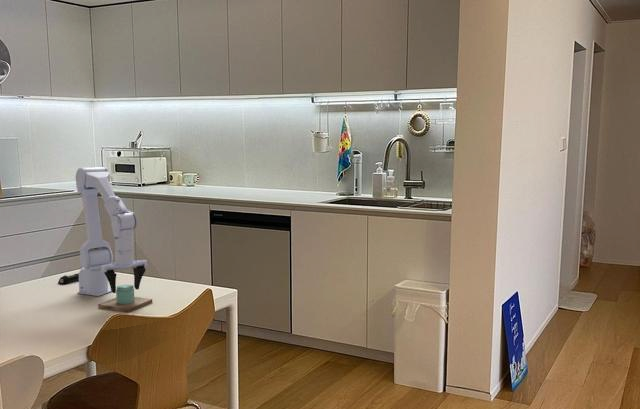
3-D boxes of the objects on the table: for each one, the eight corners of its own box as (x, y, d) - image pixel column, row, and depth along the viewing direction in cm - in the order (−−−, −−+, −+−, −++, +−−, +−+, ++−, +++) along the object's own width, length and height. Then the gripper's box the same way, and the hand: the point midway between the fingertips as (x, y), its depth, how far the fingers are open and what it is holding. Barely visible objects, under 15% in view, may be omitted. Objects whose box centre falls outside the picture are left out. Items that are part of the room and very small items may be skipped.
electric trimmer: (99, 277, 235) (99, 269, 234) (63, 285, 222) (63, 277, 221) (93, 276, 237) (92, 268, 236) (57, 284, 224) (57, 275, 223)
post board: (98, 307, 195) (97, 293, 194) (123, 298, 206) (123, 284, 205) (128, 312, 190) (128, 298, 190) (152, 302, 201) (152, 288, 201)
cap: (120, 304, 194) (120, 289, 194) (114, 300, 198) (114, 286, 198) (136, 302, 197) (135, 287, 197) (130, 298, 202) (130, 283, 201)
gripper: (106, 254, 188) (107, 296, 190) (150, 249, 197) (151, 290, 199) (98, 250, 194) (99, 291, 195) (142, 245, 202) (143, 285, 204)
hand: (125, 290), depth 197 cm, fingers open, 7 cm apart
